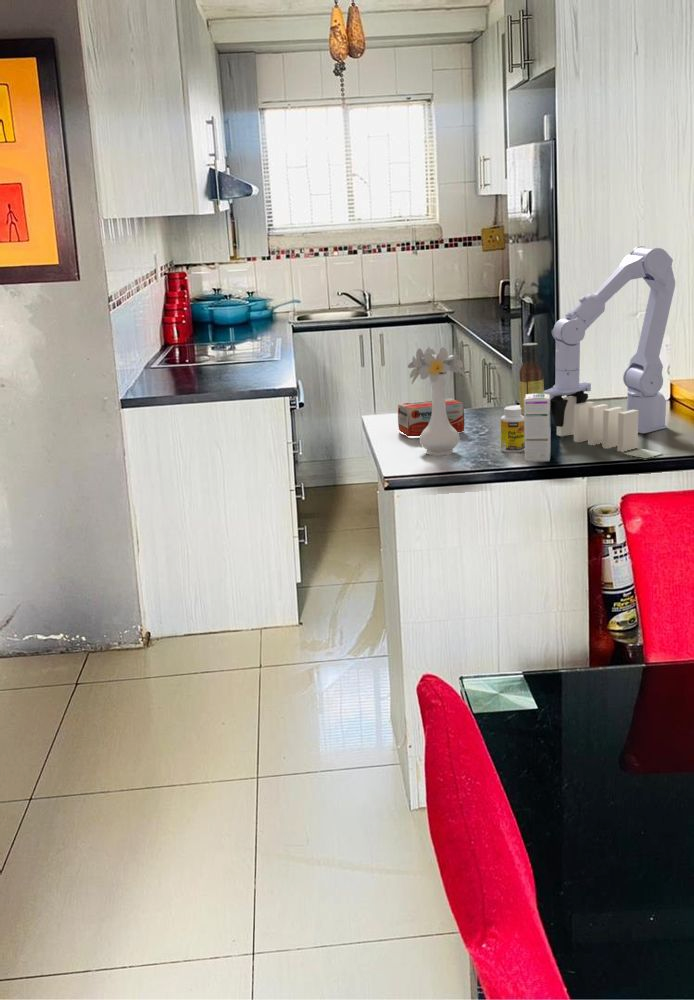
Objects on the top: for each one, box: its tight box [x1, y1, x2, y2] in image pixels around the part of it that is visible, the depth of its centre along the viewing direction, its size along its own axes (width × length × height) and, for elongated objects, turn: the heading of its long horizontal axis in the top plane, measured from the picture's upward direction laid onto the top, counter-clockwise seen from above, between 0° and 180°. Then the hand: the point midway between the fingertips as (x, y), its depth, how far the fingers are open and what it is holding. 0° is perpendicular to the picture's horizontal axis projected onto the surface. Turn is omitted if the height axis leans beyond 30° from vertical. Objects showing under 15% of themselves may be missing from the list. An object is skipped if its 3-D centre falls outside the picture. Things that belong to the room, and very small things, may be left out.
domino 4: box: [601, 406, 624, 449], centre depth 246 cm, size 2×5×9 cm, turn 125°
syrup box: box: [524, 393, 552, 462], centre depth 238 cm, size 6×6×14 cm
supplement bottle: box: [500, 405, 525, 454], centre depth 247 cm, size 6×6×10 cm
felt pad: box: [623, 448, 664, 458], centre depth 239 cm, size 6×6×1 cm
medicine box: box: [397, 397, 465, 436], centre depth 268 cm, size 15×8×8 cm, turn 107°
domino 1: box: [556, 396, 576, 437], centre depth 258 cm, size 2×5×9 cm, turn 125°
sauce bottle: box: [518, 342, 545, 416], centre depth 276 cm, size 6×6×20 cm
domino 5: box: [616, 410, 639, 453], centre depth 243 cm, size 2×5×9 cm, turn 125°
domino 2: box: [573, 401, 595, 443], centre depth 254 cm, size 2×5×9 cm, turn 125°
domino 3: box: [587, 403, 609, 446], centre depth 250 cm, size 2×5×9 cm, turn 125°
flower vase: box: [407, 346, 468, 457], centre depth 246 cm, size 13×18×25 cm
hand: (566, 424), depth 258 cm, fingers closed on domino 1, 5 cm apart
